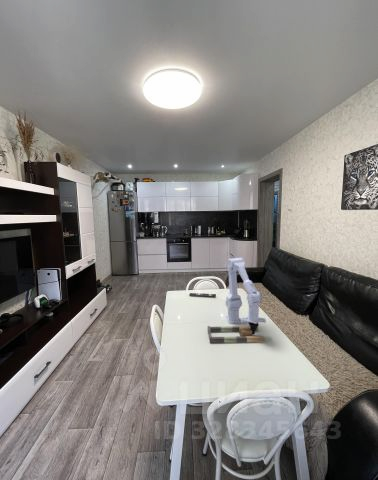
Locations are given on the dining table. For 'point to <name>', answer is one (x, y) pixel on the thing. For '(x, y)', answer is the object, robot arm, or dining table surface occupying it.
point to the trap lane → (232, 339)
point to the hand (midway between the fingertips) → (252, 333)
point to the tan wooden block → (245, 331)
